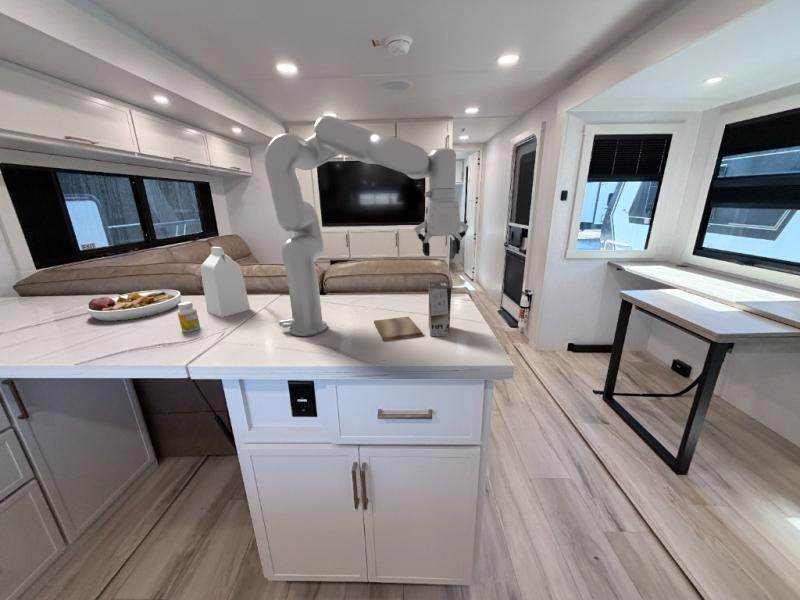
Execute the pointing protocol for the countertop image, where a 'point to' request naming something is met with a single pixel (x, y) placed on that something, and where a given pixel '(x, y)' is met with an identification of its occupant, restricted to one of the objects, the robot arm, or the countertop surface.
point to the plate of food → (133, 305)
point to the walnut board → (397, 328)
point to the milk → (223, 284)
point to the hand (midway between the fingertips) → (441, 254)
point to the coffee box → (439, 308)
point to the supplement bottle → (188, 317)
